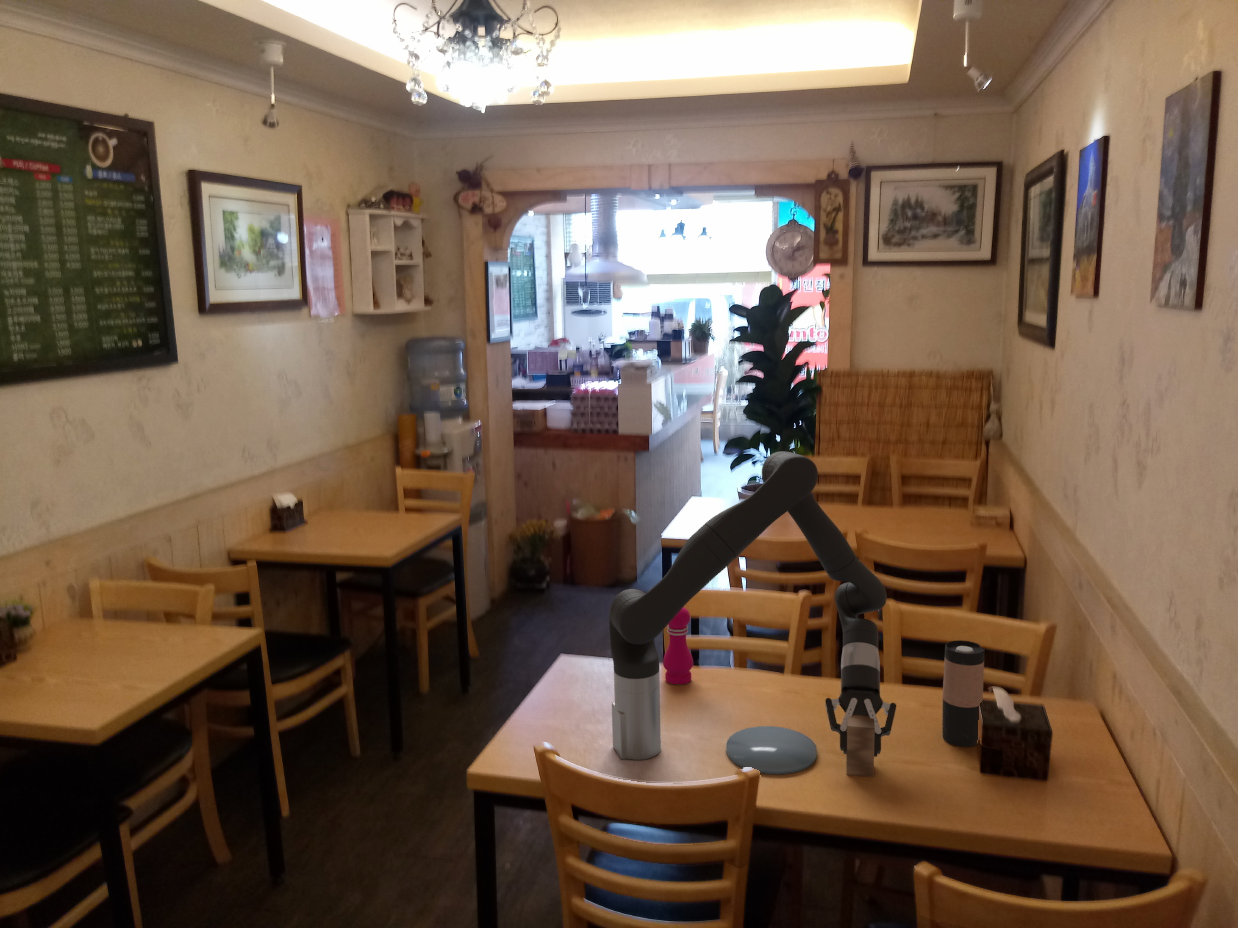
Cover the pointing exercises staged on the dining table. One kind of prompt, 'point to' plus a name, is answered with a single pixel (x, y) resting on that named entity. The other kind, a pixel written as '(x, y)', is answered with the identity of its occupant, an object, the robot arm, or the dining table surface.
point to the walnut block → (860, 746)
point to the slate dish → (771, 749)
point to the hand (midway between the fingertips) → (860, 753)
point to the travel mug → (962, 692)
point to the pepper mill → (678, 650)
